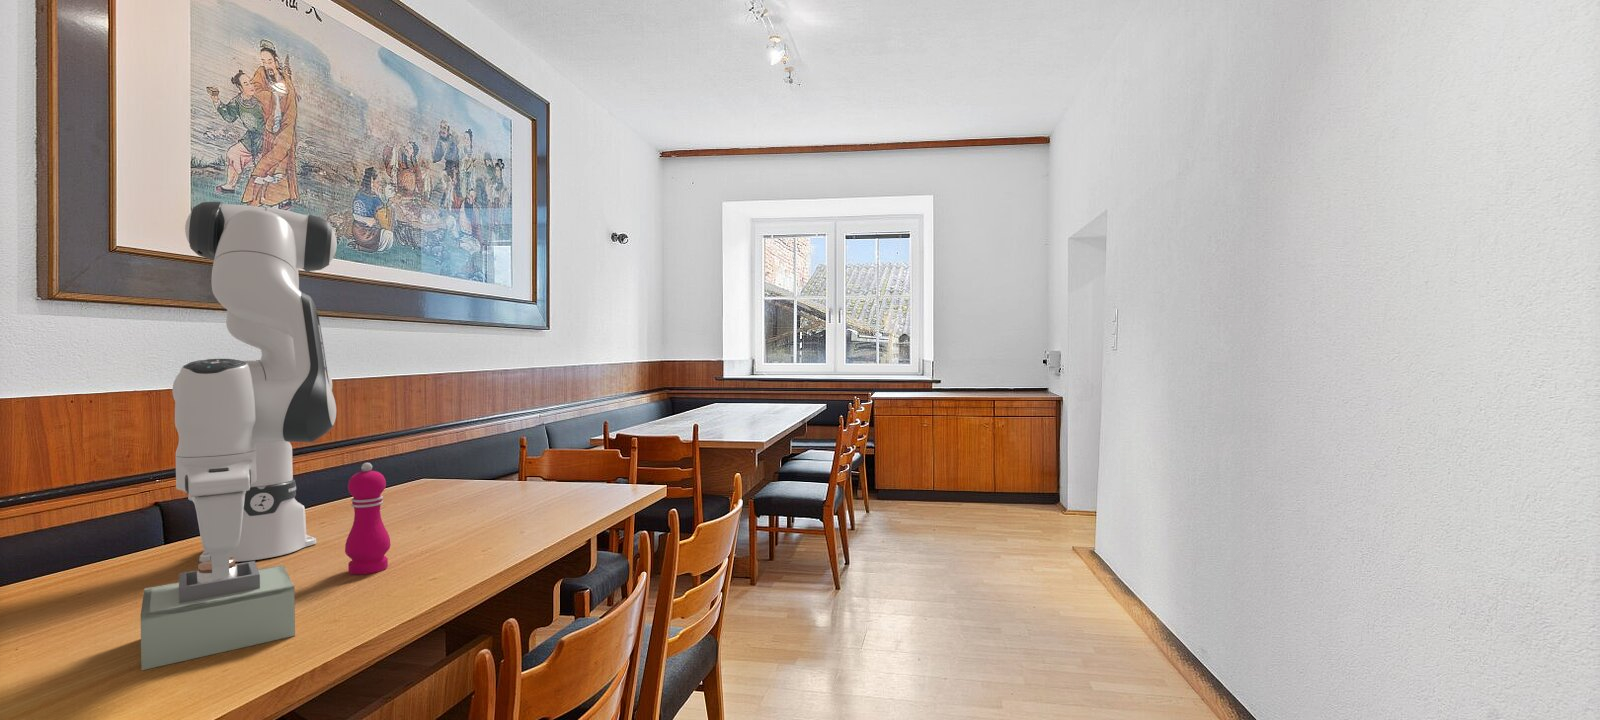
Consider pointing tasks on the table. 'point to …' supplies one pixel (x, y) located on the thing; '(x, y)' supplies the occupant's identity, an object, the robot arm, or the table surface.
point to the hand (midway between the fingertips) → (219, 569)
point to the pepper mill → (367, 523)
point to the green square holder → (215, 614)
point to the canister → (206, 571)
